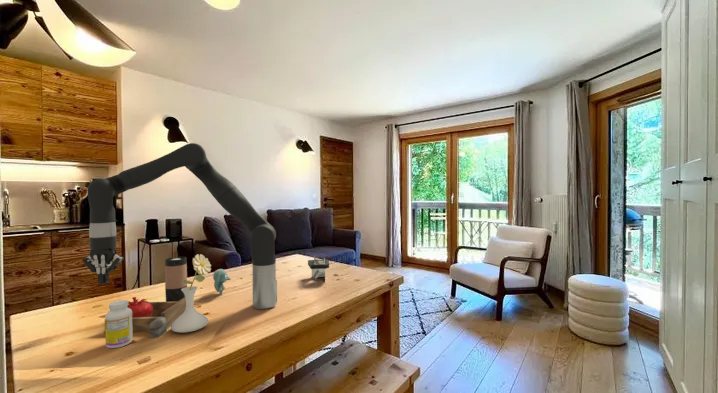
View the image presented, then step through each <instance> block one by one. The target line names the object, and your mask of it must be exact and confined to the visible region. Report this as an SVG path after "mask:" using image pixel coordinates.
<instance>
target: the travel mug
mask: <svg viewBox="0 0 718 393" xmlns="http://www.w3.org/2000/svg"><path fill="white" fill-rule="evenodd" d="M164 260H165V262H164V264H165V266H164V267H165V268H164V270H165V272H164V275H165V276H164V277H165V278H164V279H165V280H164V287H165V288H164V290H165V302H174V301H180V300H181V299H183V298H184V297H185V295H184V293H183V292H182V290H181V289H182V288H185V287H188V284H185V283H184V280H186V281H188V270H187V269H188V265H187V264H188V262H187V261H188V260H187V257H186V256H178V257H166V258H165V259H164Z"/></svg>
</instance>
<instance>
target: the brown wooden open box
mask: <svg viewBox="0 0 718 393" xmlns="http://www.w3.org/2000/svg"><path fill="white" fill-rule="evenodd" d="M149 302H150V303H151V305H152V306H153V313H152V315H151V317H134V318H132V326H133V333H141V332H142V333H143V332H148V333H149V338H160V337H161V336H162V335H164V334H165V333H166V332H167V330H168V329H169V328H171V325H172V323H173V322H174V321H175V320H176V319H177V318H178V317H179V316H180V315H182V314H183V313H184V311H185V310H186V298H185V297H184V298H183V299H181V300H180V301H174V302H166V301H149ZM153 315H160V316H153Z"/></svg>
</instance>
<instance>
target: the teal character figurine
mask: <svg viewBox="0 0 718 393" xmlns="http://www.w3.org/2000/svg"><path fill="white" fill-rule="evenodd" d="M212 277H213V281H214V283H213V286H214V289H215V291H216V292H217V293H218V296H223V293H224V290H225V289H226V286H225V285H224V283H226V282H227V281H230V280H231V277H230V276H228V273H227V270H225V269H223V268H219V269H217V270H215V271H214V272H213V275H212Z"/></svg>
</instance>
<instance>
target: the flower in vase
mask: <svg viewBox="0 0 718 393" xmlns="http://www.w3.org/2000/svg"><path fill="white" fill-rule="evenodd" d="M191 263H192V265H193V270H194V271H195V274H194V277H193V280H192V281H190V280H187V281H186V280H184V283H185V284H187V285H190V286H187V287H185V288H182V289H181V290H182V292H183V293H184V295H185V298H186V310H185V311H184V313H183V314H182V315H180V316H179V317H178V318H177V319H176V320H175V321H174V322H173V323H172V325H171V326H170V329H171V331H172V332H175V333H181V334H182V333H183V334H184V333H192V332H194V331H198V330H200V329H203V328H204V327H205V326H206V325H208V323H209V317H207V316H206V315H205V314H203V313H201V312H199V311H198V310H196V309H195V306H194V300H195V294H196V291H197V290H198V289H199V288H198V286H195V285H193V284H194V282H195V281H197V282H198V283H201V282H203V281H204V280H205V279H206V277H205V276H207V275H208V274H209V273H211V270H212V268H211V267H212V264H211V261H209V258H208V257H205V255H204V254H201V253H200V254H198V253H197V254H196V255H194V257H192V262H191ZM197 274H198V275H197Z"/></svg>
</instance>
